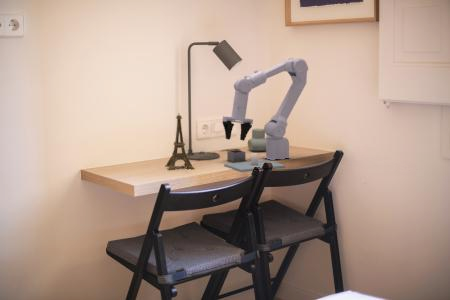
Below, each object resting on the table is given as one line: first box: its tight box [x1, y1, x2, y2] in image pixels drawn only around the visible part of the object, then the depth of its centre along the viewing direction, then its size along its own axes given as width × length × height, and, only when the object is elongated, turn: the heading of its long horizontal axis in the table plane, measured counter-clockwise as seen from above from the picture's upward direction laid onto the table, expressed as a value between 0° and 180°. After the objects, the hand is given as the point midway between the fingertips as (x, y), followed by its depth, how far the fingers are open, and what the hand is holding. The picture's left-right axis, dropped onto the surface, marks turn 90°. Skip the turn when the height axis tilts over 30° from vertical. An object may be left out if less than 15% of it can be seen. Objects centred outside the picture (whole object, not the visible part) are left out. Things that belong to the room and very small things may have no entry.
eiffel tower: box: [164, 114, 195, 171], centre depth 267 cm, size 11×11×25 cm
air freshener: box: [247, 128, 266, 153], centre depth 309 cm, size 11×8×10 cm
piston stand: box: [224, 152, 286, 173], centre depth 270 cm, size 20×14×5 cm
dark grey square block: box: [226, 149, 246, 163], centre depth 283 cm, size 6×6×4 cm
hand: (235, 139), depth 282 cm, fingers open, 7 cm apart
